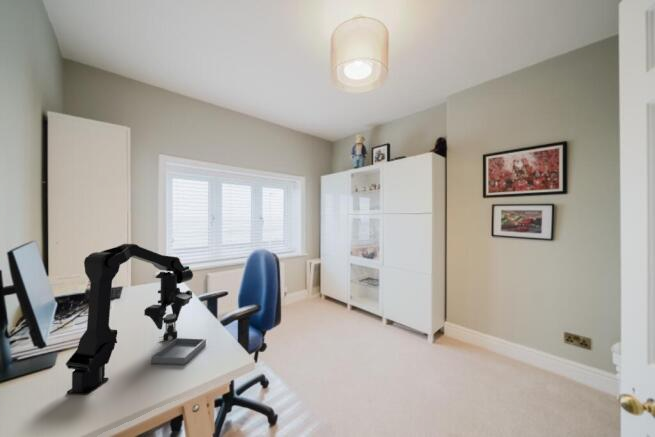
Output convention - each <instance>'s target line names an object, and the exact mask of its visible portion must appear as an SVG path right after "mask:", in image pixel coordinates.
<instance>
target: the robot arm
mask: <svg viewBox="0 0 655 437" xmlns="http://www.w3.org/2000/svg"><path fill="white" fill-rule="evenodd" d="M131 258H132V259H137V260H139V261H142V262H145V263H149V264H151V265H153V266H154V268H156V269H158V270H159V273H158V274H157V275H156V276H155V278H156V279H160V289H159V290H157V294H160V299H159V300H157V304H152V305H150V306H147V307H145V309H144V312H143V313H144V314H143V315H144V316H146V317H149V318H150V319H151V320H152V322H153V323H154V325H155V327H157V329H158V330H162V328H163V324H164V321H163V318H164V317H165V316H166V315H167V312H166V311H167V308H168V307H171V311H172V314H173V313H174V314H176V315H178V317H179V316H180V313H181V310H182V307H184V306H186V305H188V304H189V303H190V302H191V301H190V300H192V299H193V291H192V290H190V289H189V290H186V291H181V289H180V287H178V285H179V284H182V283H185V282H189V281H191V280H192V279H193V277H194V273H193V271H192V270H191V269H190V266H189V265H183V263H182V262H181V260H180V258H179V257H177V256H172V255H162V254H160V253H157V252H155V251H152V250H150V249H147V248H144V247H142V246H140V245H138V244H136V243H123V244H120V245H118V246H115V247H111V248H108V249H105V250H102V251H100V252H99V251H98V252H97V251H96V252H92V253H90V254H89V255H88V256H86V257H85V258H84V262H83V265H84V273H85V275H86V276H87V278H88V280H89V281H90V287H89V300H88V311H87V322H86V323H87V325H86V330H85V332H84V333H83V334H82V335H81V336H80V338H79V341H78V345H77V349H76V351H75V352H74V353H73V354H72V355H71V356H70V357H69V358H68V360H67V361H66V362H65V365H66V367H67V369H69V370H73V371H72V373H71V388H70V389H68V390H67V391H66V394H68V395H89V394H90V393H92V392H93V391H95V390H96V389H98V388H99V387H100V386H102V385H103V384H104V383H106V382H107V381H109V378H110V377H105V375H106V367H105V365H107V364H109V362H110V359H111V357H112V353H113V351H114V350H115V346H116V344H117V343H118V341H117V337H118V336H117V335H118V330H117V329H112V328H111V327H110V314H111V312H110V311H111V300H112V288H113V287H112V285H113V284H112V283H113V280H114V278H115V277H116V276H117V274H118V273H119V271H120V266H121V265H122V264H124V263H127V262H128V261H129V260H130V259H131ZM165 271H166V272H165Z"/></svg>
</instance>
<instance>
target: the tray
mask: <svg viewBox="0 0 655 437" xmlns="http://www.w3.org/2000/svg"><path fill="white" fill-rule="evenodd" d="M206 346H207V338H193V337H192V338H190V337H189V338H188V337H187V338H186V337H177V338H176V339H173V340H172V341H171V342H169V343H168V344H167V345H165V346H164V347H162V349H160V350H159V351H157V352H155V353H154V354H153V355H152V356H151V357H150V361H151V362H150V364H151V365H163V366H164V365H167V366H169V365H171V366H185V365H187V364H188V363H189V362H190V360H192V359H193V358H195V356H196V355H197V354H198V353H199V352H201V350H203V348H204V347H206Z"/></svg>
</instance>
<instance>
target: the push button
mask: <svg viewBox="0 0 655 437" xmlns="http://www.w3.org/2000/svg"><path fill="white" fill-rule="evenodd" d="M178 319H179V316H178V315H176V314H174V313H173V312H172V313H168V314H165V316H163V324H165V326H164V327H165V328H164V329H165V331H164V334H163V336H159V337H158V338H159V339H158V341H164V342H166V341H171V340H172V341H173V340H175V339H176V338H178V330H177V329H176V327H177V324H176V322H177V321H178Z"/></svg>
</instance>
